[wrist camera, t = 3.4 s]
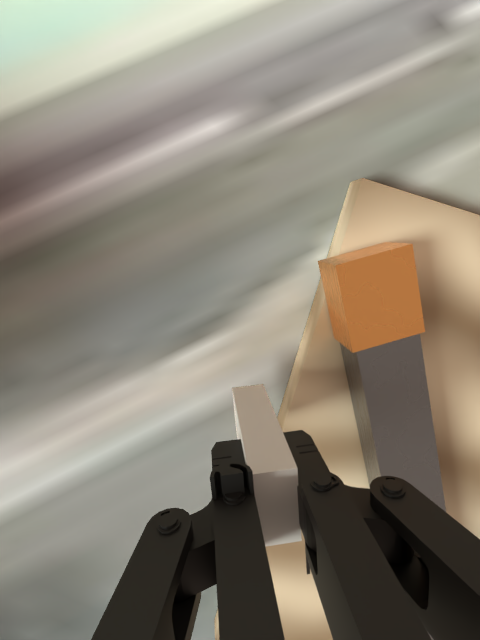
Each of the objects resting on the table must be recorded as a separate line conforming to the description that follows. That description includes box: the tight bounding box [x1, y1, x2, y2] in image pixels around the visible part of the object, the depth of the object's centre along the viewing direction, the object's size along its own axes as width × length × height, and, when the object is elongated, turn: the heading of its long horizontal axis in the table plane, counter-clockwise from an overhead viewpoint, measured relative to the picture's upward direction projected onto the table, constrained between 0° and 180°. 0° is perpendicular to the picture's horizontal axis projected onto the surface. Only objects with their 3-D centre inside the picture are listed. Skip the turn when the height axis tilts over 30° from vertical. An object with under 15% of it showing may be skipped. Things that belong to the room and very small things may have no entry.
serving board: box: [215, 178, 480, 640], centre depth 22 cm, size 28×20×2 cm
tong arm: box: [318, 242, 446, 640], centre depth 20 cm, size 27×4×3 cm, turn 15°
